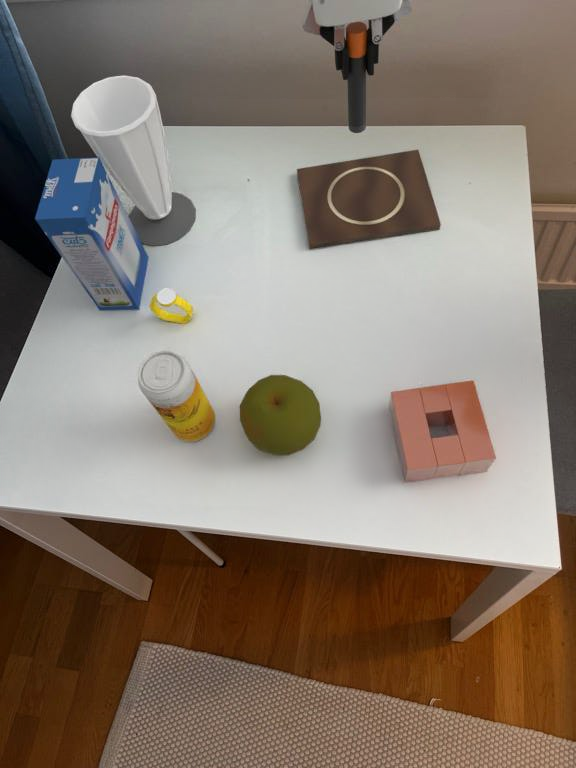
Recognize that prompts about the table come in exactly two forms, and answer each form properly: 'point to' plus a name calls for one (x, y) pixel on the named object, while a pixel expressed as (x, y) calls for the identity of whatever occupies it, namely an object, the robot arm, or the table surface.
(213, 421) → the beer can
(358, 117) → the marker
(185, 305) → the watch
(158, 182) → the cup
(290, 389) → the apple
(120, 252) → the milk carton
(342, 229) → the brown flat wooden board
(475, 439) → the holder
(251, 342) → the table surface
